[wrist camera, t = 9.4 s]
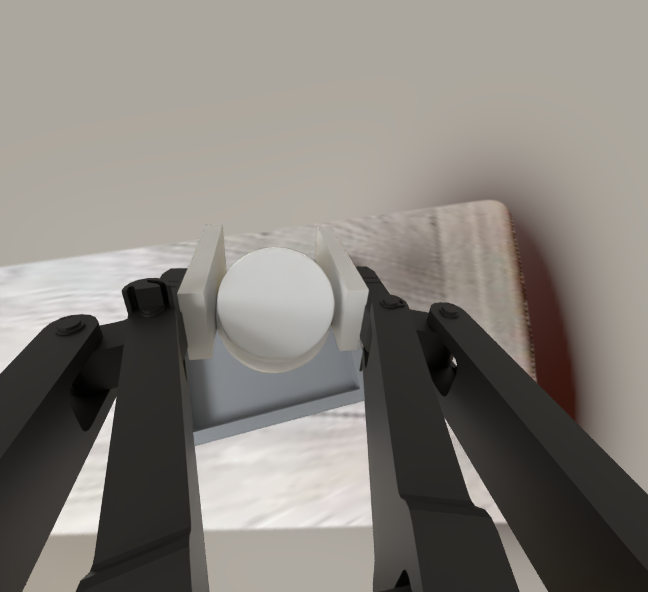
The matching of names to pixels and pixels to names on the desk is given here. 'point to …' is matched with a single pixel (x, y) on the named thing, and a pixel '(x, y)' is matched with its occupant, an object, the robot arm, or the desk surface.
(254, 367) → the supplement bottle
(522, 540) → the robot arm
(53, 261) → the desk surface
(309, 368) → the tray
